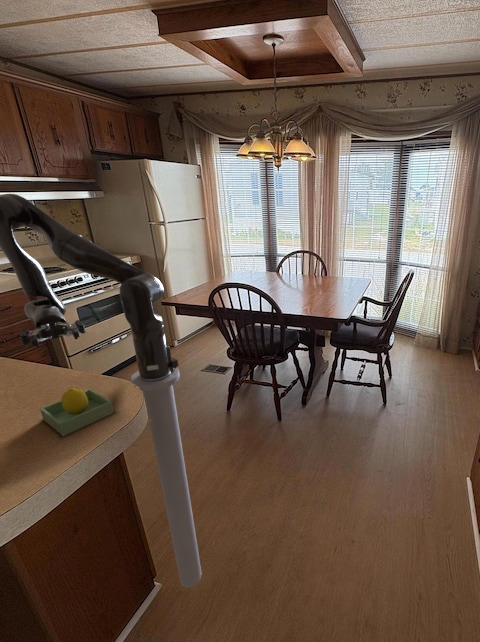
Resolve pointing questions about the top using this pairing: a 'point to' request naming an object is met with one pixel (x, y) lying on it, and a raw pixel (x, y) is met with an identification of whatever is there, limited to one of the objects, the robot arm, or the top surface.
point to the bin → (73, 422)
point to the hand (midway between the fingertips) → (56, 339)
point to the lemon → (74, 401)
